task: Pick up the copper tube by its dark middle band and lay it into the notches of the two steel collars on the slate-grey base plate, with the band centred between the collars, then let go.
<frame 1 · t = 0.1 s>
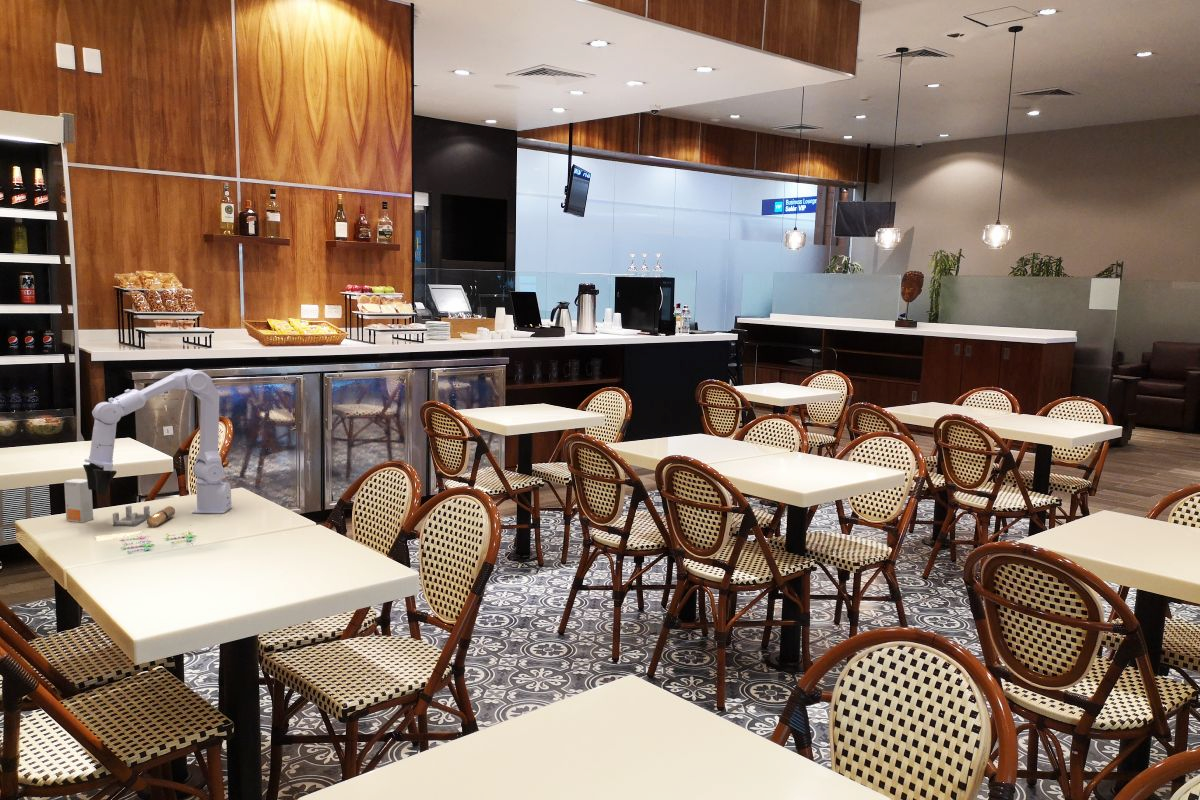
hand: (96, 491, 255), 11 cm above the table, tool pointing down, fingers open, 7 cm apart
skincare box: (80, 521, 264), on the table
cradle: (131, 521, 264), on the table
clear flat square panel: (162, 545, 244), on the table
tube: (161, 521, 264), on the table
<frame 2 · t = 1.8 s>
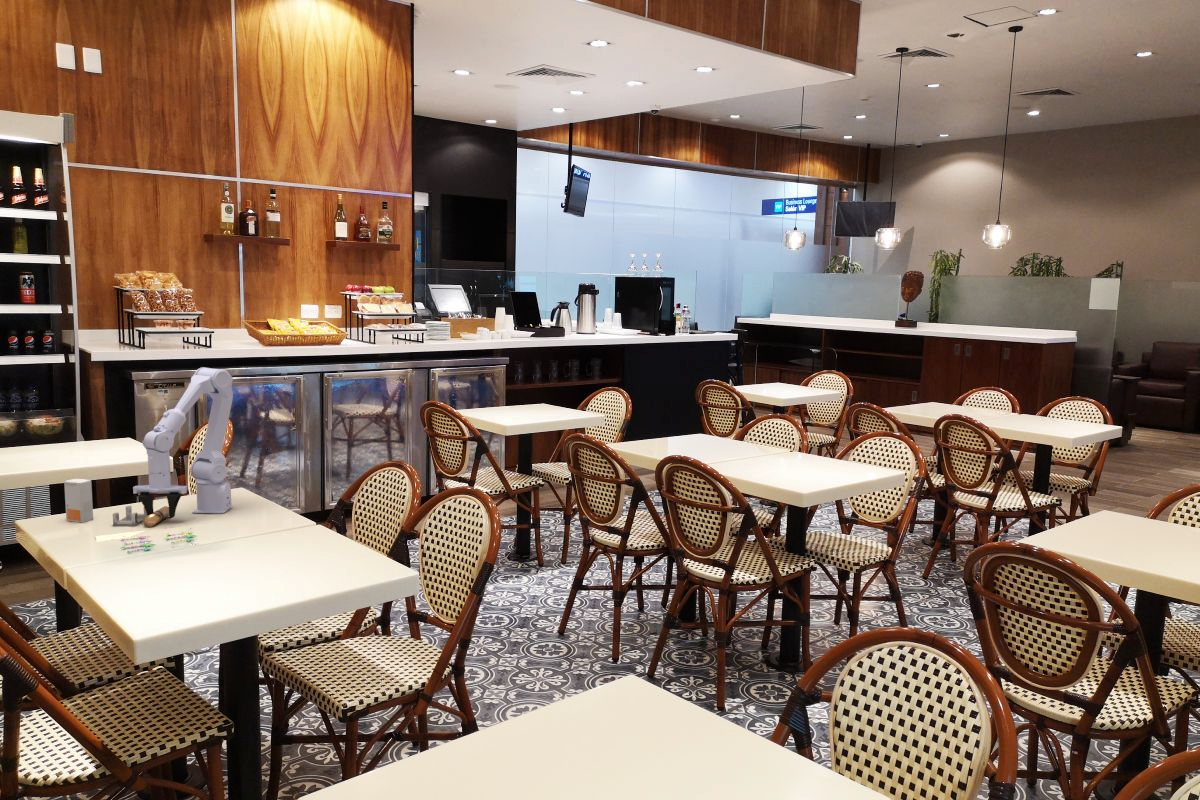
hand: (161, 517, 264), 1 cm above the table, tool pointing down, fingers open, 5 cm apart
tube: (161, 520, 264), on the table, tilted 41°, touching gripper
everything else where it was.
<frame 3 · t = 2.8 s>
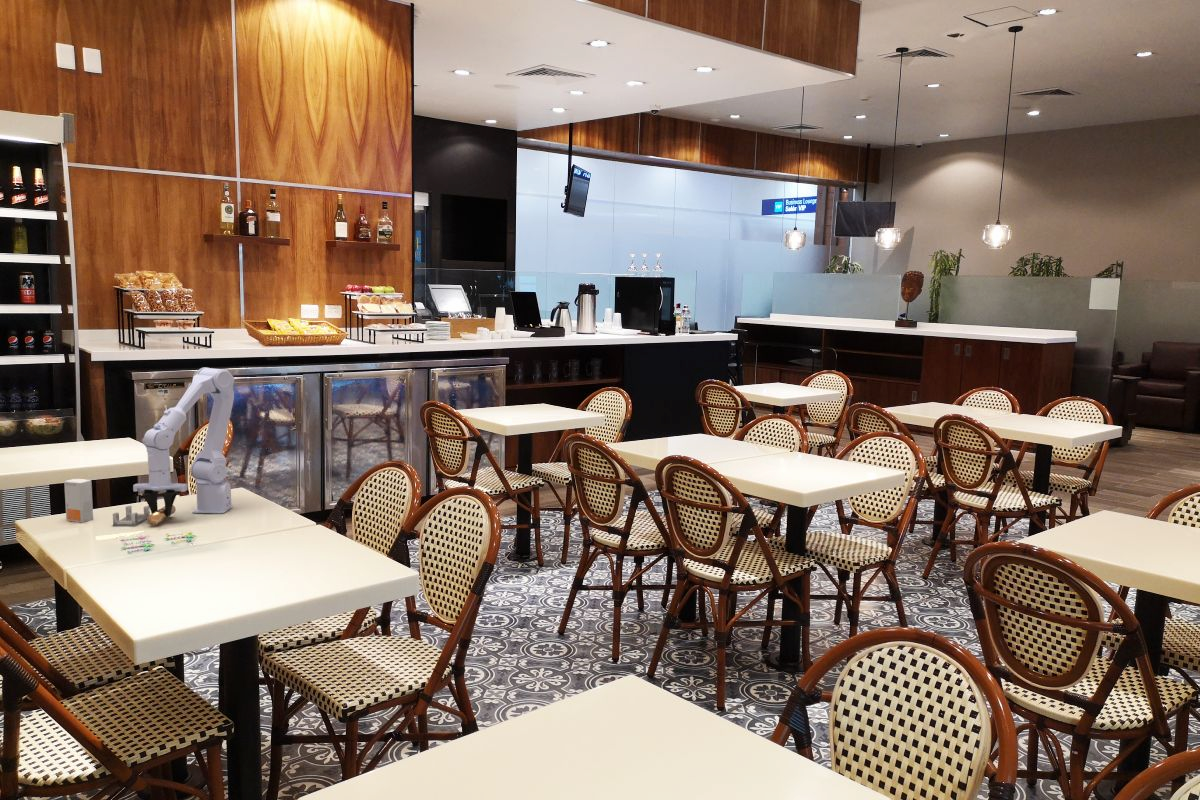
hand: (161, 515, 264), 2 cm above the table, tool pointing down, fingers closed on tube, 3 cm apart
tube: (161, 519, 264), point 1 cm above the table, touching gripper
everything else where it was.
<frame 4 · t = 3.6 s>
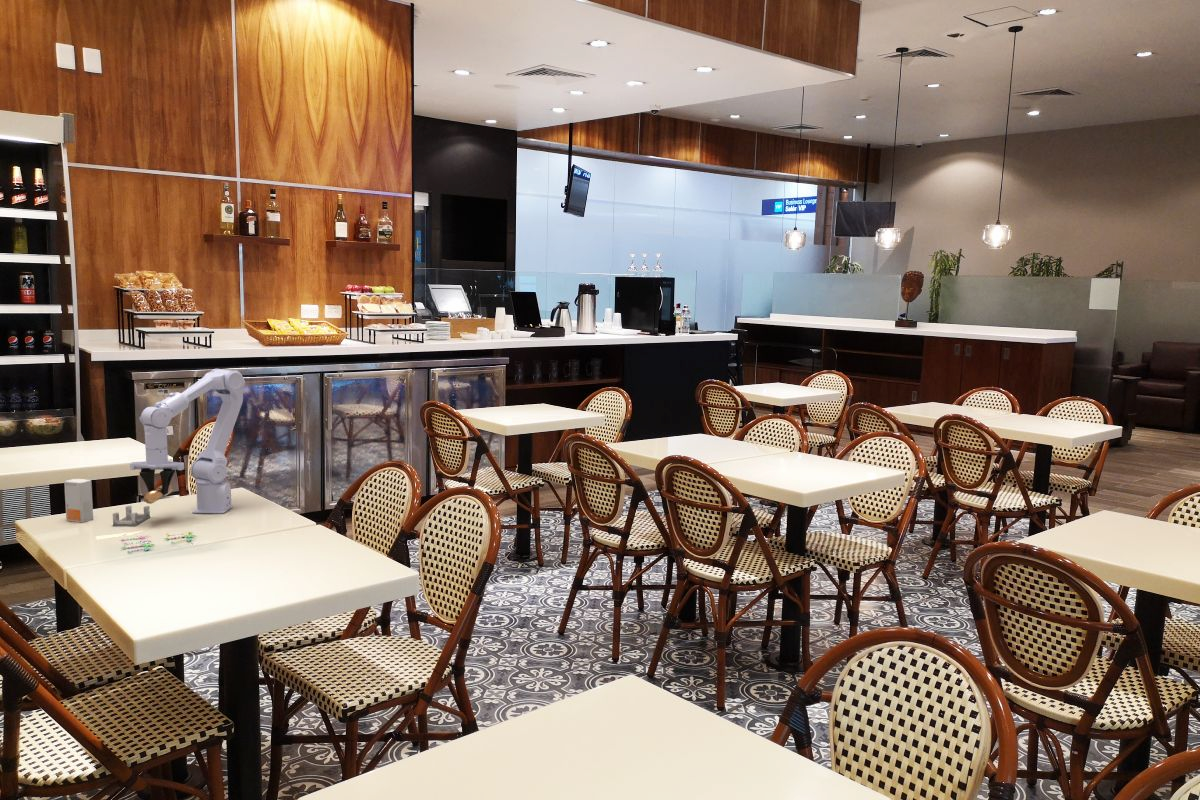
hand: (158, 493, 263), 8 cm above the table, tool pointing down, fingers closed on tube, 3 cm apart
tube: (158, 498, 263), point 7 cm above the table, touching gripper
everything else where it was.
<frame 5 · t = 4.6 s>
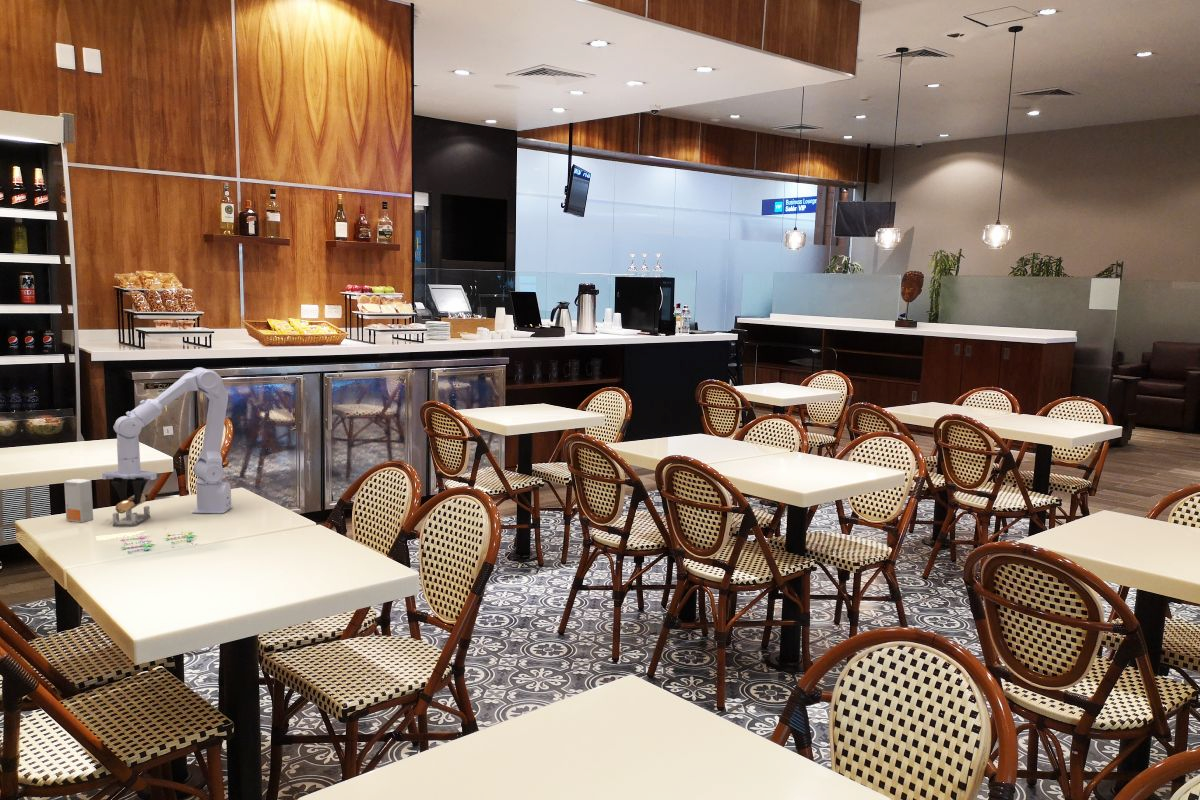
hand: (130, 503, 263), 6 cm above the table, tool pointing down, fingers closed on tube, 3 cm apart
tube: (131, 508, 263), point 4 cm above the table, touching gripper
everything else where it was.
when the fingers open (4 cm above the table, at t = 5.2 s): tube drops 1 cm, resting on cradle.
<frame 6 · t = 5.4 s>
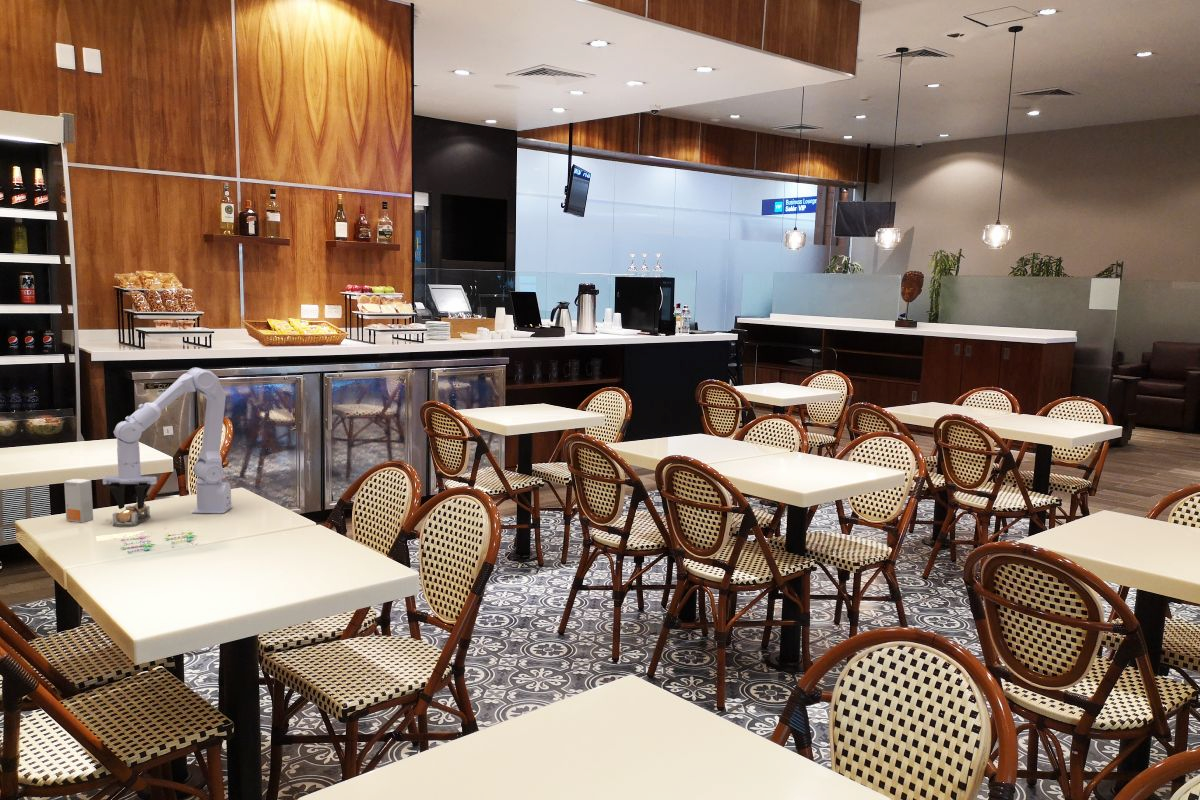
hand: (131, 508, 263), 4 cm above the table, tool pointing down, fingers open, 5 cm apart
tube: (131, 517, 263), point 1 cm above the table, tilted 6°, touching cradle
everything else where it was.
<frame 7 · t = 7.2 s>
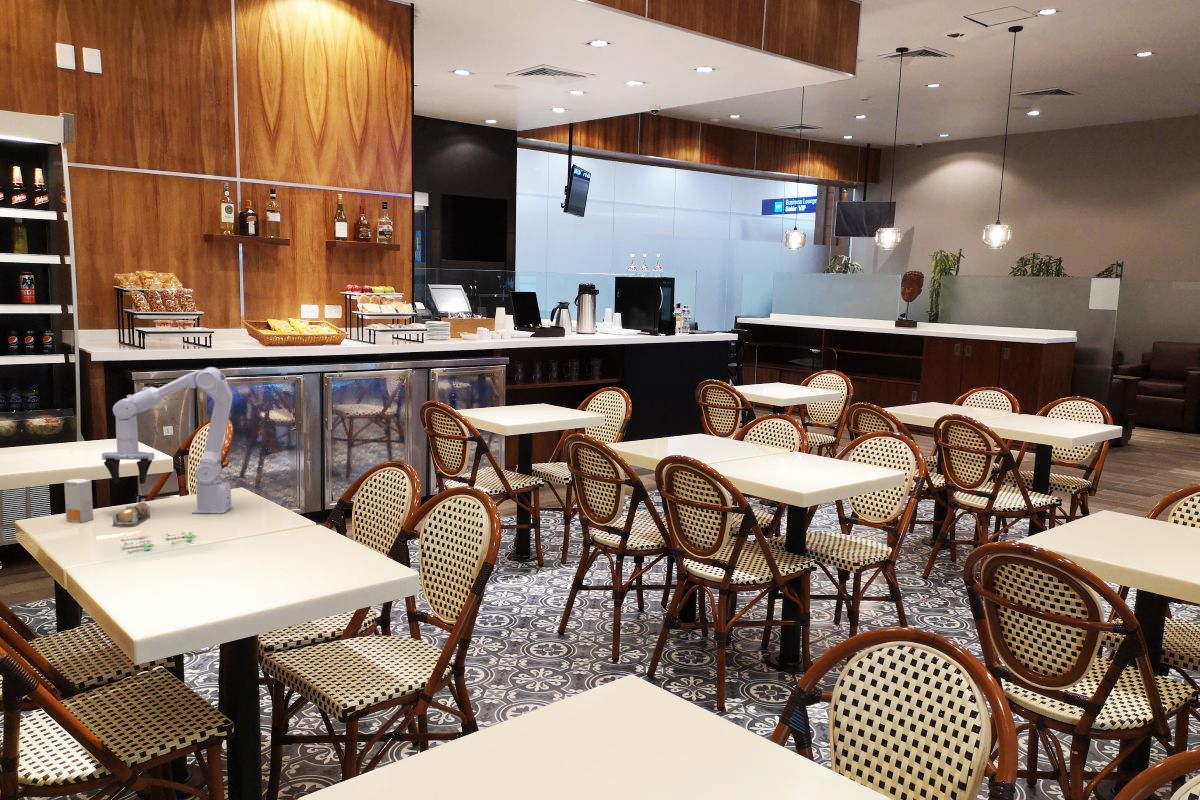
hand: (129, 483, 271), 9 cm above the table, tool pointing down, fingers open, 7 cm apart
tube: (131, 517, 263), point 1 cm above the table, tilted 18°, touching cradle
everything else where it was.
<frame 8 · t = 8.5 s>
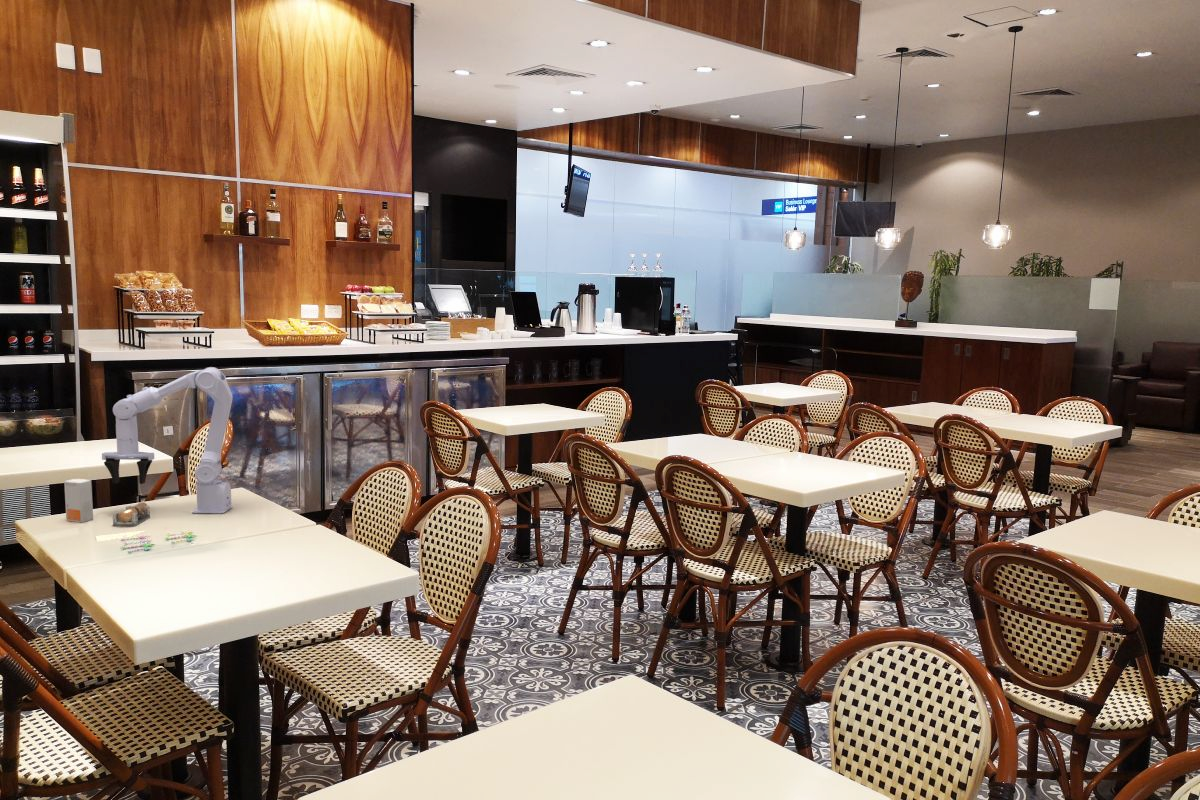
hand: (129, 483, 271), 9 cm above the table, tool pointing down, fingers open, 7 cm apart
nothing on the table moved.
at the end: tube 0.0 cm off-centre on the cradle, point 1.3 cm above the cradle's base; tube touching cradle; the gripper is holding nothing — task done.
